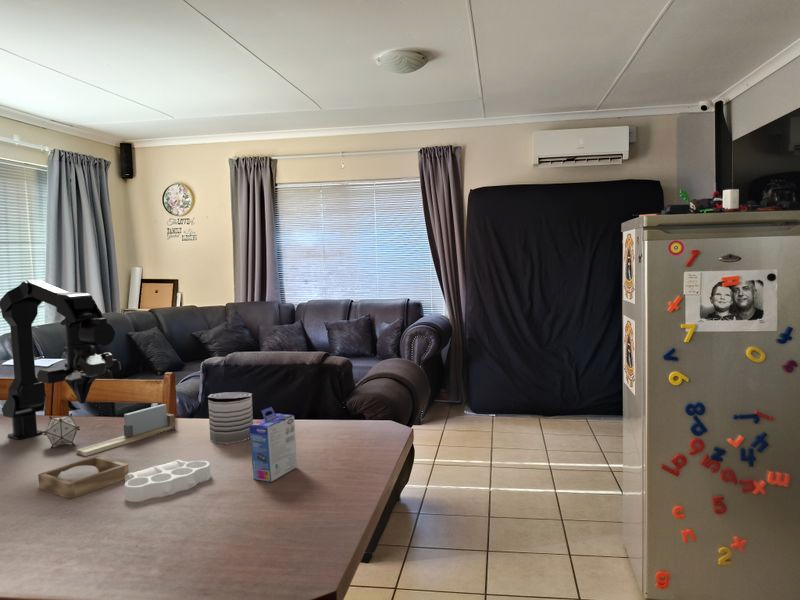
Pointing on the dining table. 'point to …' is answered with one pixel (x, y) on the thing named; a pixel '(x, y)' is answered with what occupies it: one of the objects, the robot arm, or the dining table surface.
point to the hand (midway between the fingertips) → (82, 403)
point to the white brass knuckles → (165, 479)
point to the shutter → (145, 420)
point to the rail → (125, 439)
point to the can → (230, 416)
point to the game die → (61, 430)
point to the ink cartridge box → (273, 446)
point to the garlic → (78, 473)
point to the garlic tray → (108, 475)
